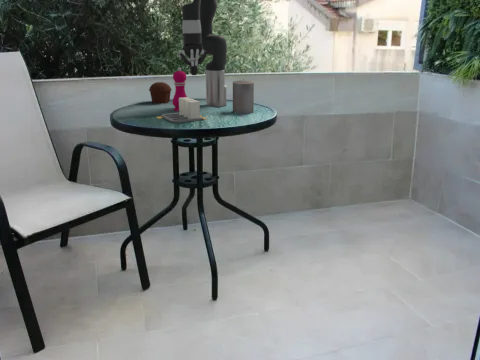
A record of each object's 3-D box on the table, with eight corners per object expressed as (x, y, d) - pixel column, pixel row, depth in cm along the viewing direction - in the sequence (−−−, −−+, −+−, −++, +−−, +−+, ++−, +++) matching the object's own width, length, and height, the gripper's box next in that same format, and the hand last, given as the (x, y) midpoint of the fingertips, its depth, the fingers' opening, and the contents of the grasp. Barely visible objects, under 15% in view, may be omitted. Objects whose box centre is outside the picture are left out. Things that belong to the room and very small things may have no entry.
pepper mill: (191, 111, 214) (190, 67, 207) (184, 113, 207) (183, 68, 201) (177, 110, 216) (175, 66, 209) (170, 112, 209) (168, 67, 203)
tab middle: (192, 116, 196) (191, 98, 194) (195, 117, 194) (194, 99, 191) (183, 117, 195) (183, 99, 192) (186, 118, 192) (186, 100, 189)
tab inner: (187, 114, 200) (187, 97, 198) (190, 115, 198) (190, 98, 195) (179, 115, 199) (178, 97, 196) (182, 116, 196) (181, 98, 193)
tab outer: (196, 118, 192) (196, 100, 190) (199, 119, 190) (199, 101, 187) (187, 119, 191) (187, 101, 188) (190, 120, 188) (190, 102, 185)
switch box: (196, 115, 204) (196, 111, 203) (210, 121, 191) (210, 117, 191) (152, 119, 195) (152, 115, 194) (165, 126, 182) (164, 121, 182)
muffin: (176, 101, 238) (176, 82, 235) (162, 104, 229) (161, 84, 226) (159, 99, 244) (158, 80, 241) (144, 102, 235) (143, 82, 232)
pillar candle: (236, 109, 219) (236, 77, 214) (256, 110, 216) (256, 78, 211) (229, 113, 211) (229, 79, 206) (249, 114, 208) (250, 80, 203)
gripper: (203, 31, 194) (204, 72, 200) (173, 32, 188) (175, 75, 194) (210, 31, 188) (212, 74, 194) (180, 32, 182) (182, 77, 188)
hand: (193, 74), depth 194 cm, fingers closed
